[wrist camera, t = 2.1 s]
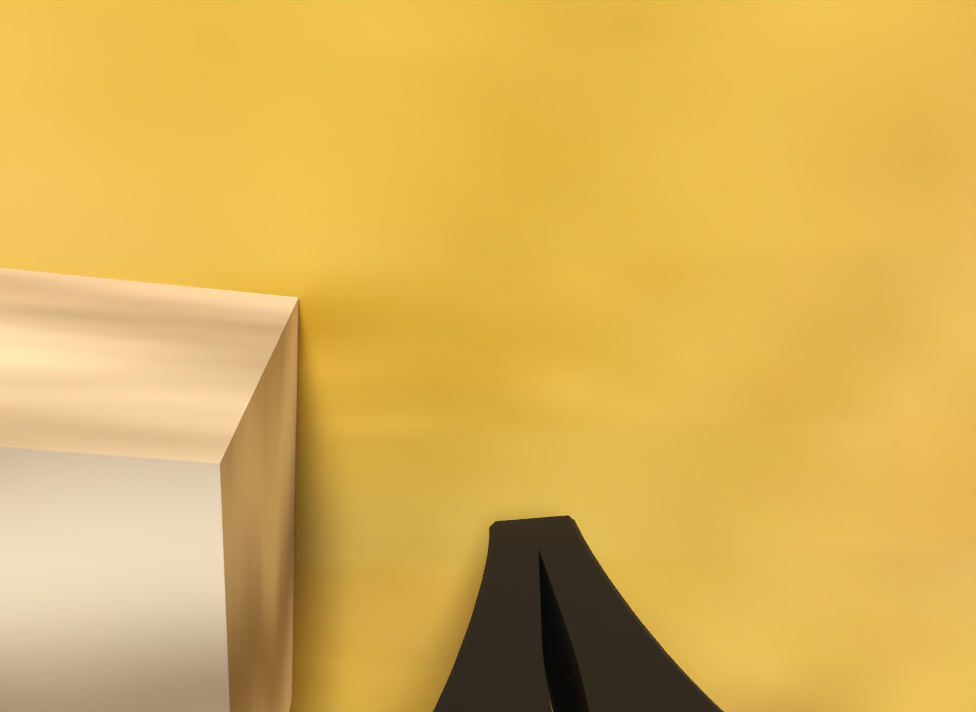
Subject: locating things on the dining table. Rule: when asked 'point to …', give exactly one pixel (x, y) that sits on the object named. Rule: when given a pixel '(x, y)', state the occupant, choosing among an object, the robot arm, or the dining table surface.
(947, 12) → the dining table surface
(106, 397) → the maple block
